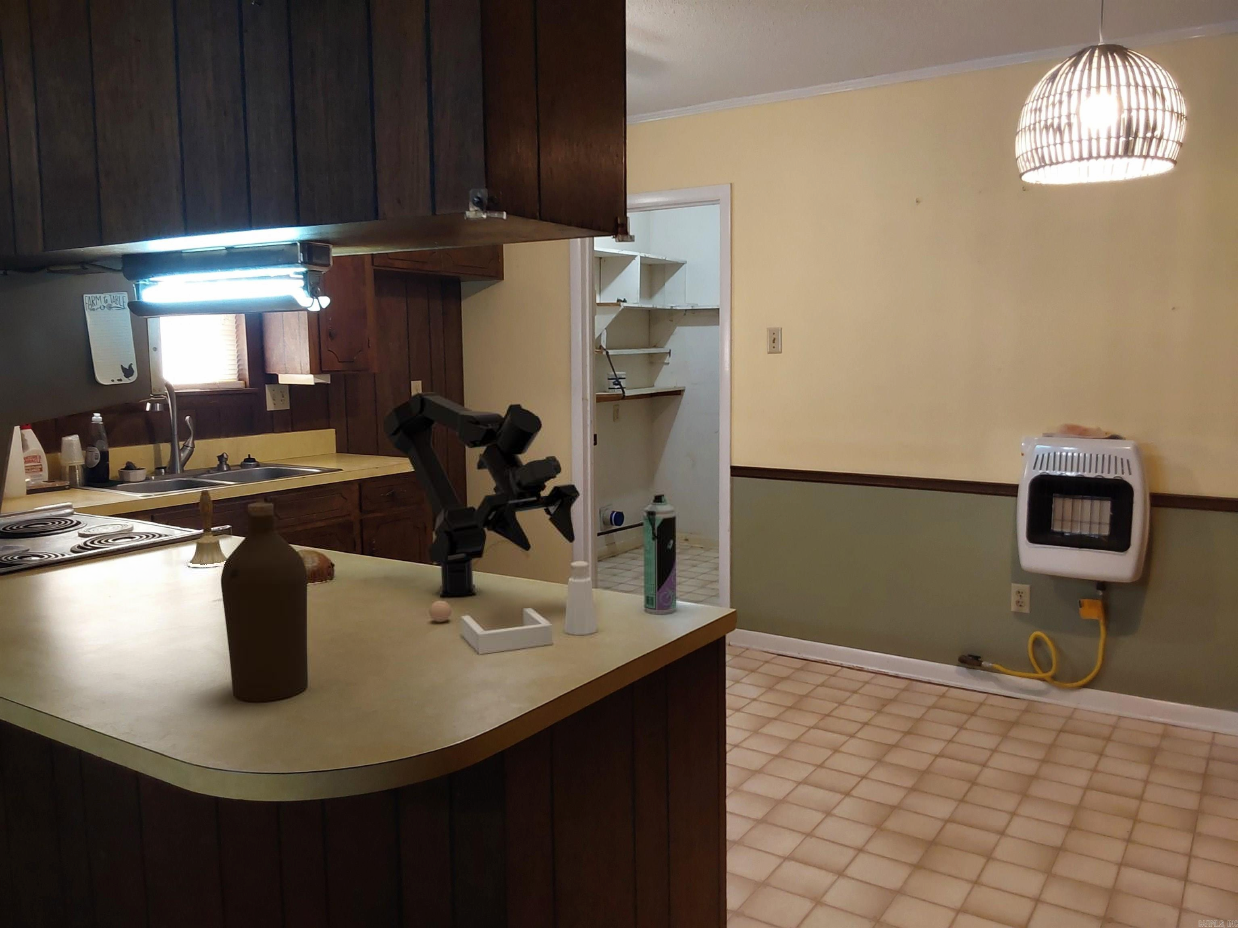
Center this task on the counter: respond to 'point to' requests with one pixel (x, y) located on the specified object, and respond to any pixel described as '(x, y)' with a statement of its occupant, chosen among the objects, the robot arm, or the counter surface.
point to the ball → (440, 611)
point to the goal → (508, 634)
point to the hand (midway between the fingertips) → (551, 545)
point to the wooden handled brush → (207, 536)
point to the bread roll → (317, 566)
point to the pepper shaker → (580, 602)
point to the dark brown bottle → (265, 612)
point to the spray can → (659, 557)
